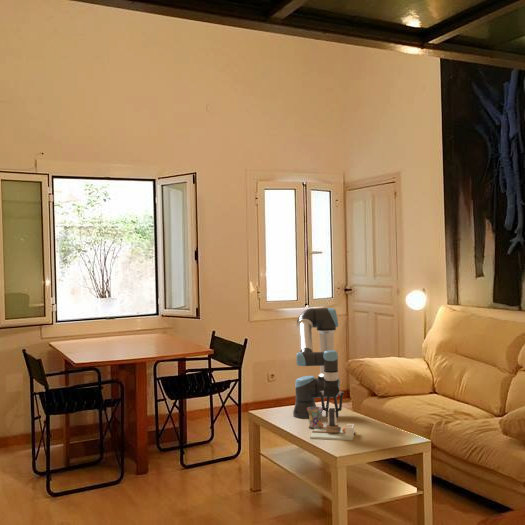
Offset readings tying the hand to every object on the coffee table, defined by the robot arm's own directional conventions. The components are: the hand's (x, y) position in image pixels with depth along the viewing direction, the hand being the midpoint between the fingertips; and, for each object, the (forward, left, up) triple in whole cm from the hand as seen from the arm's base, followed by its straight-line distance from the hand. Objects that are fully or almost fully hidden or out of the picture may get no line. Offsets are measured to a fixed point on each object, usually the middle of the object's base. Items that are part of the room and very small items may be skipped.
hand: (332, 423), depth 330 cm
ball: (0, +7, -3) cm, 8 cm away
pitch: (+1, 0, -6) cm, 6 cm away
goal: (0, +9, -6) cm, 11 cm away
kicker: (0, +1, -4) cm, 4 cm away
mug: (-15, -12, -6) cm, 20 cm away
